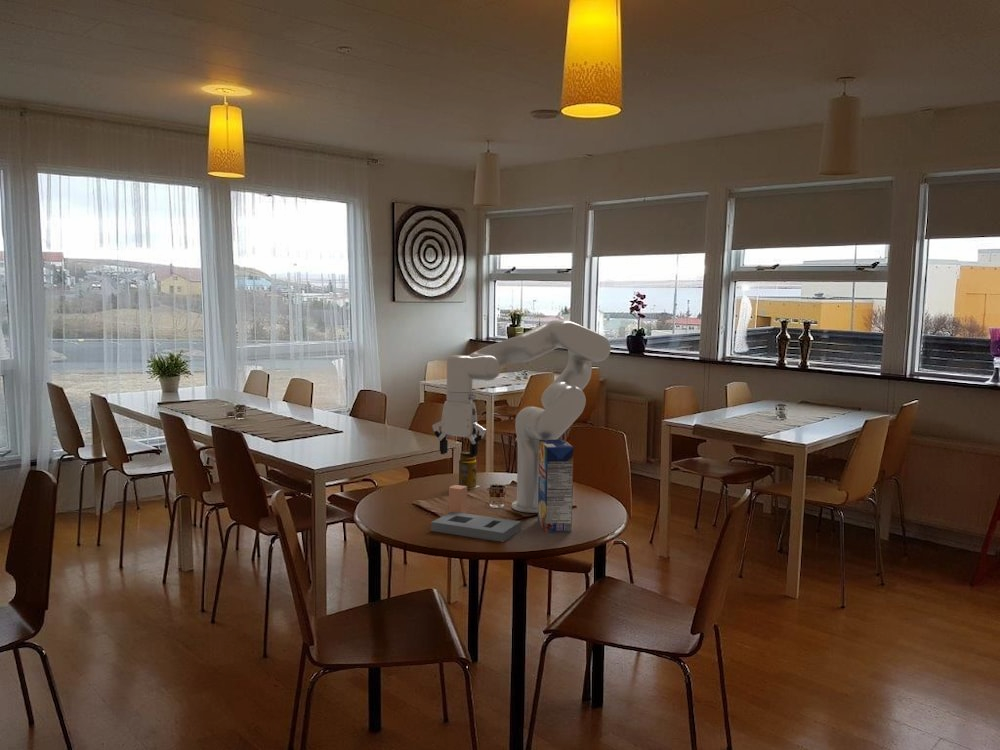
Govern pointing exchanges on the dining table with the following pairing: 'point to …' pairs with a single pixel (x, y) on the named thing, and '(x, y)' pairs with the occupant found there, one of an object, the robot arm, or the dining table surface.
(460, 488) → the square peg
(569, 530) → the juice carton
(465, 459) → the condiment
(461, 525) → the socket board
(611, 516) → the dining table surface
